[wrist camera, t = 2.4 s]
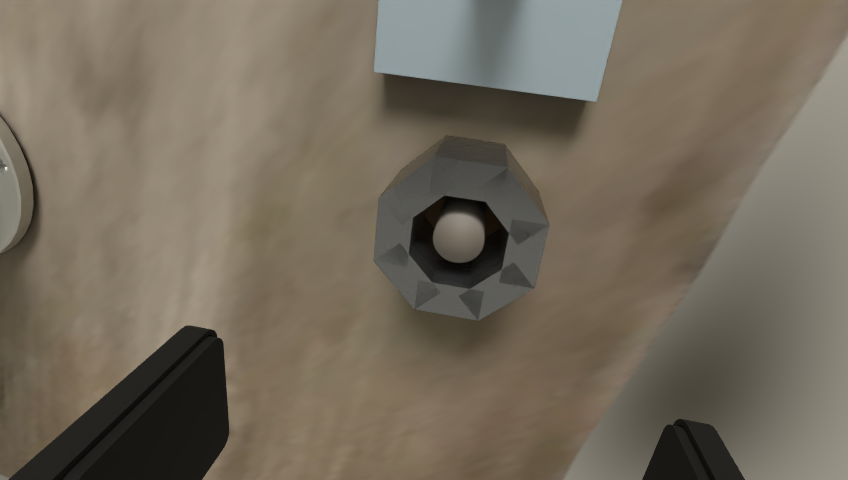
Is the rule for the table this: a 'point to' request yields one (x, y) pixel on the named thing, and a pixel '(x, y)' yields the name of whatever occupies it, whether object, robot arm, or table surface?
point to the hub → (499, 43)
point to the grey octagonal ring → (503, 249)
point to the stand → (460, 227)
